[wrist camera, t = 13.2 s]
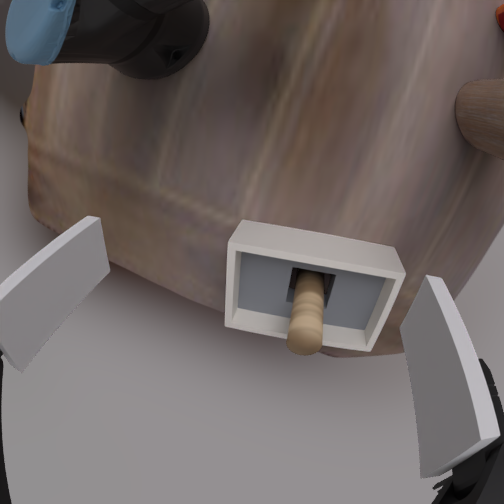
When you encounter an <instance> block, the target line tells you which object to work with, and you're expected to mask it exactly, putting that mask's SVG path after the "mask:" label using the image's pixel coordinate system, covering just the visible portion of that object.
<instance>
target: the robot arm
mask: <svg viewBox="0 0 504 504" xmlns="http://www.w3.org/2000/svg"><path fill="white" fill-rule="evenodd" d="M208 29H209V13H208V9H207V6H206V4H205V2H204V1H203V0H12V3H11V5H10V9H9V12H8V16H7V23H6V45H7V48H8V51H9V53H10V55H11V56H12V58H13V59H14V60H16V61H18V62H19V63H24V64H39V65H43V66H45V65H49V64H54V63H100V64H109V65H110V66H112V67H114V68H115V69H117V70H118V71H120V72H121V73H123V74H124V75H127V76H129V77H133V78H138V79H158V78H162V77H166V76H168V75H171V74H173V73H175V72H177V71H178V70H180V69H181V68H183V67H184V66H185V65H187V64H188V63H189V62H190V61H191V60H192V59H193V58H194V57H195V55H196V54H197V53H198V51H199V50H200V48H201V47H202V45H203V43H204V41H205V39H206V36H207V33H208ZM109 272H110V268H109V263H108V258H107V253H106V248H105V243H104V237H103V232H102V226H101V220H100V218H99V217H93V216H86V217H85V218H84V219H82V220H81V221H79V222H78V223H76V224H75V225H74V226H72V227H71V228H69V229H68V230H67V231H65V232H64V233H63V234H61V235H60V236H59V237H57V238H56V239H55V240H53V241H52V242H51V243H49V244H48V245H47V246H46V247H44V248H43V249H42V250H40V251H39V252H38V253H37V254H35V255H34V256H33V257H32V258H30V259H29V260H28V261H27V262H26V263H24V264H23V265H22V266H21V267H20V268H19V269H18V270H16V271H15V272H14V273H13V274H12V275H10V276H9V277H8V278H7V279H6V280H5V281H4V282H3V283H2V284H1V285H0V504H11V499H10V494H9V489H8V483H7V477H6V471H5V463H4V454H3V443H2V423H1V398H2V396H1V395H2V376H3V361H2V359H1V356H2V355H3V354H4V356H5V357H6V359H7V360H8V362H9V363H10V364H11V365H12V366H13V367H14V368H16V369H17V370H18V371H20V372H21V373H22V372H23V371H24V369H25V368H26V367H27V366H28V365H29V363H30V362H31V361H32V359H33V358H34V357H35V356H36V354H37V353H38V352H39V351H40V349H41V348H42V347H43V346H44V344H45V343H46V342H47V341H48V340H49V338H50V337H51V336H52V335H53V333H54V332H55V331H56V330H57V329H58V328H59V326H60V325H61V324H62V323H63V322H64V321H65V319H66V318H67V317H68V316H69V315H70V314H71V313H72V312H73V310H74V309H75V308H76V307H77V306H78V305H79V304H80V302H81V301H83V299H84V298H85V297H86V296H87V295H88V294H89V293H90V292H91V291H92V290H93V289H94V288H95V287H96V285H97V284H98V283H99V282H100V281H101V280H102V279H103V278H104V277H105V276H106V275H107V274H108V273H109ZM400 332H401V337H402V341H403V346H404V350H405V355H406V360H407V365H408V370H409V376H410V382H411V387H412V394H413V400H414V407H415V415H416V423H417V433H418V443H419V456H420V476H421V478H428V477H434V476H440V475H442V474H444V473H445V472H447V471H449V470H451V469H452V472H453V475H452V476H450V477H448V478H446V479H444V480H443V481H441V482H439V483H437V484H436V485H435V486H434V487H433V489H434V490H435V489H437V488H439V487H441V486H443V487H442V489H440V490H439V491H438V495H437V496H436V498H435V500H434V501H433V502H432V504H504V412H503V409H502V405H501V402H500V398H499V397H498V392H497V389H496V386H494V384H495V383H494V380H493V377H492V374H491V371H490V369H489V368H488V366H487V365H486V364H485V362H484V361H483V359H478V357H477V355H476V352H475V350H474V347H473V344H472V342H471V339H470V337H469V335H468V332H467V330H466V327H465V325H464V323H463V321H462V318H461V316H460V314H459V312H458V310H457V308H456V306H455V303H454V301H453V299H452V297H451V295H450V293H449V291H448V289H447V287H446V285H445V283H444V281H443V280H442V278H440V277H434V276H429V275H425V278H424V280H423V282H422V284H421V286H420V289H419V291H418V293H417V295H416V297H415V299H414V301H413V303H412V305H411V307H410V309H409V311H408V313H407V315H406V317H405V319H404V321H403V322H402V324H401V326H400Z"/></svg>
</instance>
